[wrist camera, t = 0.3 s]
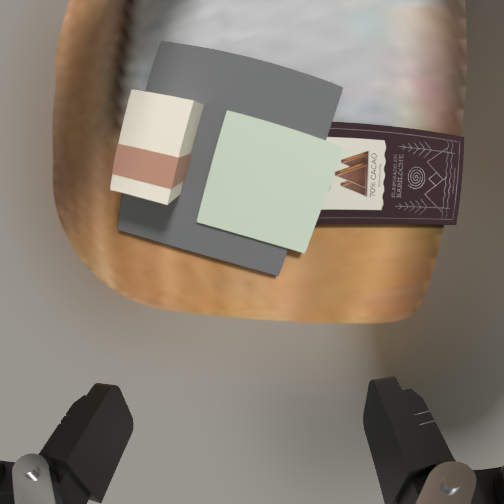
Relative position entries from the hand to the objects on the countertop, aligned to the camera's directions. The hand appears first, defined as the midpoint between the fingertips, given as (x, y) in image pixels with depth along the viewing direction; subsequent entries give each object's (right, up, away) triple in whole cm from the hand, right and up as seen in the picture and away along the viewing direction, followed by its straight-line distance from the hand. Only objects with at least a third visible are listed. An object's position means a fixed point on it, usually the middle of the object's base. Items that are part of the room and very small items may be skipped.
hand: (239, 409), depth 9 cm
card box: (-7, +14, +16) cm, 22 cm away
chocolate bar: (+12, +12, +17) cm, 24 cm away
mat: (-2, +13, +17) cm, 21 cm away
